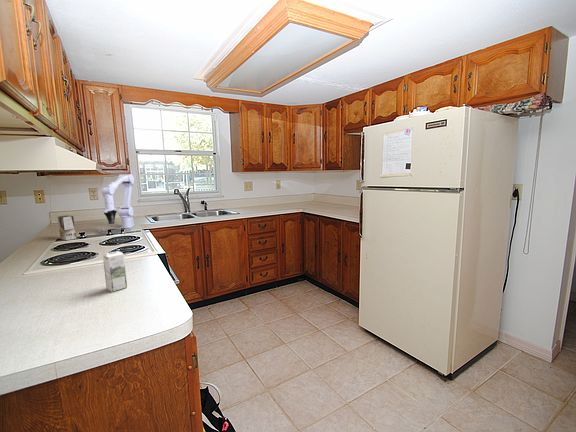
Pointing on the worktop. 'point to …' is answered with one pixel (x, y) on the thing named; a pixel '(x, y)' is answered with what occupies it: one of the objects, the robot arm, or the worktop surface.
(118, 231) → the lower end link
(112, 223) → the pin
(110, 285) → the syrup box
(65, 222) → the coffee box
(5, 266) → the worktop surface
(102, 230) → the upper end link
